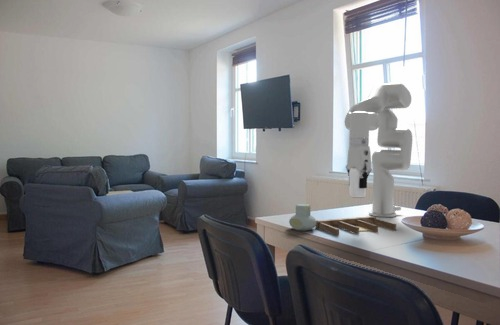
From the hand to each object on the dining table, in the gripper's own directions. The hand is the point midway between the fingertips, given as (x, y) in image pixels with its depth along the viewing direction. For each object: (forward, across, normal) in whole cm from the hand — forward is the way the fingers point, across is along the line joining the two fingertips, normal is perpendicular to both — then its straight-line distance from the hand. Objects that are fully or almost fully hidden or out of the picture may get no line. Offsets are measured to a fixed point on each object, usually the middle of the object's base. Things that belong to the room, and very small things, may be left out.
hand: (357, 186), depth 164 cm
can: (+4, 0, 0) cm, 4 cm away
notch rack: (+17, 0, 0) cm, 17 cm away
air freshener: (+18, +7, +21) cm, 28 cm away
